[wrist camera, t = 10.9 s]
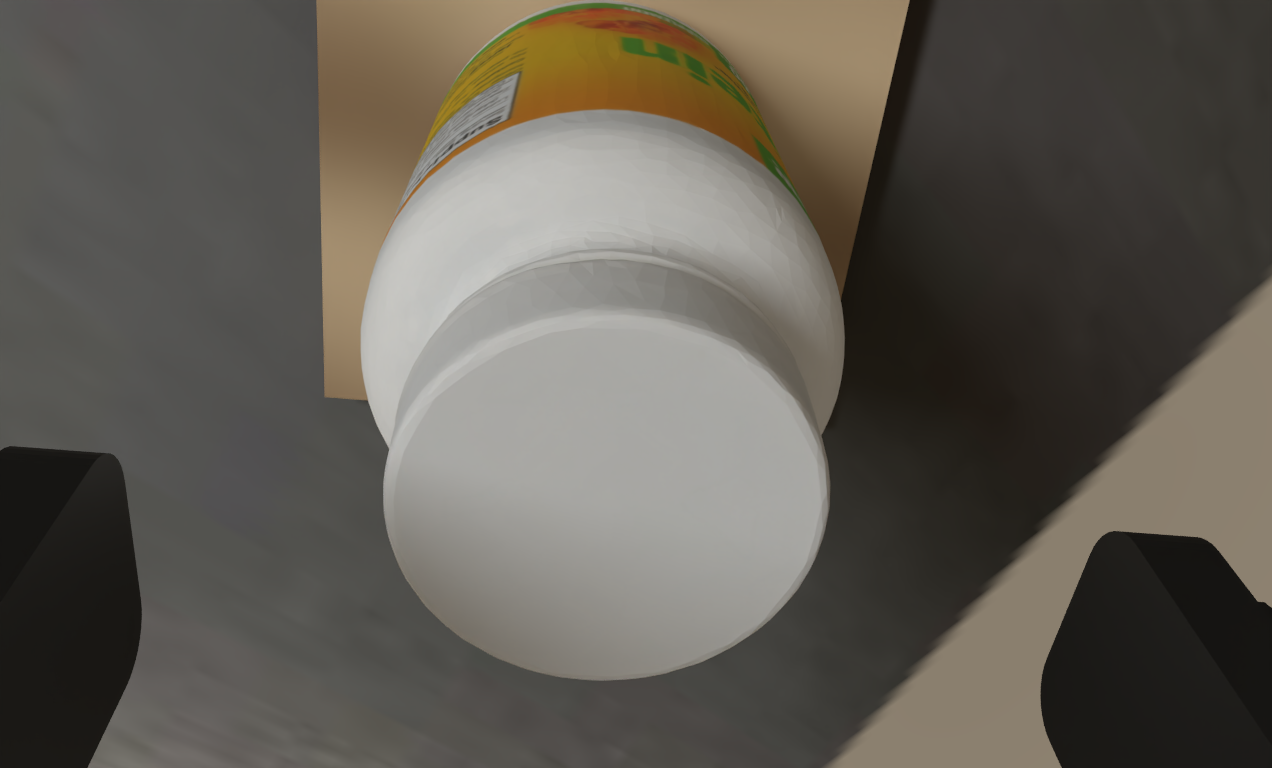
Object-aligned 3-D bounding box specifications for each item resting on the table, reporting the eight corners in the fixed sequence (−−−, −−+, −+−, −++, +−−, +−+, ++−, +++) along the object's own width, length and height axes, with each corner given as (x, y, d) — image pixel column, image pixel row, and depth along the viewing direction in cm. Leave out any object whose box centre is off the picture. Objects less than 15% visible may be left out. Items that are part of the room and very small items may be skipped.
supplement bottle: (831, 152, 18) (1041, 495, 10) (612, 368, 20) (629, 813, 12) (584, -87, 16) (582, 83, 8) (367, 177, 18) (174, 543, 10)
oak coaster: (322, -152, 16) (313, -149, 16) (915, -77, 17) (926, -72, 17) (331, 380, 21) (325, 397, 20) (804, 418, 22) (809, 435, 21)
